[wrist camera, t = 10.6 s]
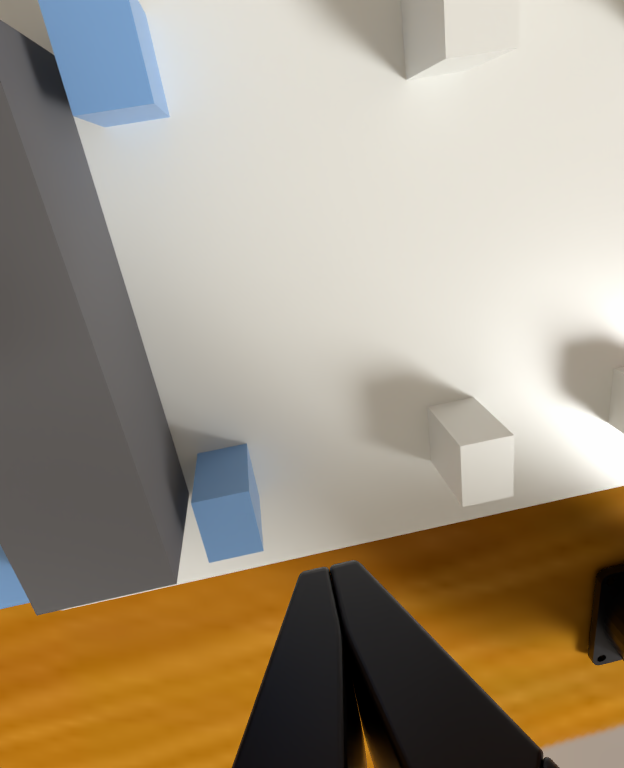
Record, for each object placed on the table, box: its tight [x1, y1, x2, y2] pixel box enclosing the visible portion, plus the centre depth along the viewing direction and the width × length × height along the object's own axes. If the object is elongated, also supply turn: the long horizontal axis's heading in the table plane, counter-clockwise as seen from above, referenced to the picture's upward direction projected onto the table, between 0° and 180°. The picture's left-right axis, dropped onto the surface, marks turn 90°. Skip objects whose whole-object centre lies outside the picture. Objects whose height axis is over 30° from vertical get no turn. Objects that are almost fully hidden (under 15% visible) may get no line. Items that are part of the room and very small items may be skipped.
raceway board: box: [0, 0, 624, 610], centre depth 16 cm, size 22×25×4 cm
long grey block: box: [0, 20, 189, 615], centre depth 14 cm, size 14×4×4 cm, turn 9°
